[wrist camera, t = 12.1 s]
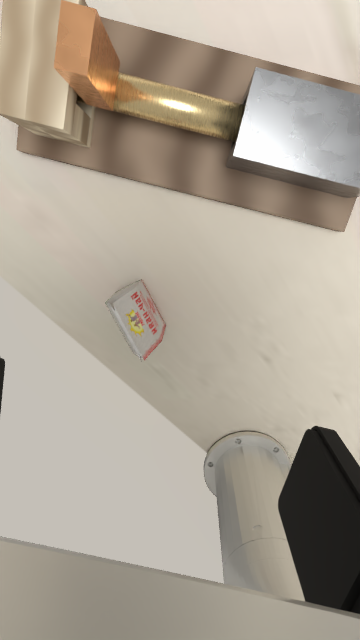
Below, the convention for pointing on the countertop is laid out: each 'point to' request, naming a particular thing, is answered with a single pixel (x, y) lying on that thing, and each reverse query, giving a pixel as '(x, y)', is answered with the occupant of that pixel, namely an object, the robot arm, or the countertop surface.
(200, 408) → the countertop surface
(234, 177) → the walnut base board
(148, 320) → the white angular box
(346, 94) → the galvanized steel sleeve
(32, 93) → the ash socket block
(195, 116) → the brass tube
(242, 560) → the robot arm
